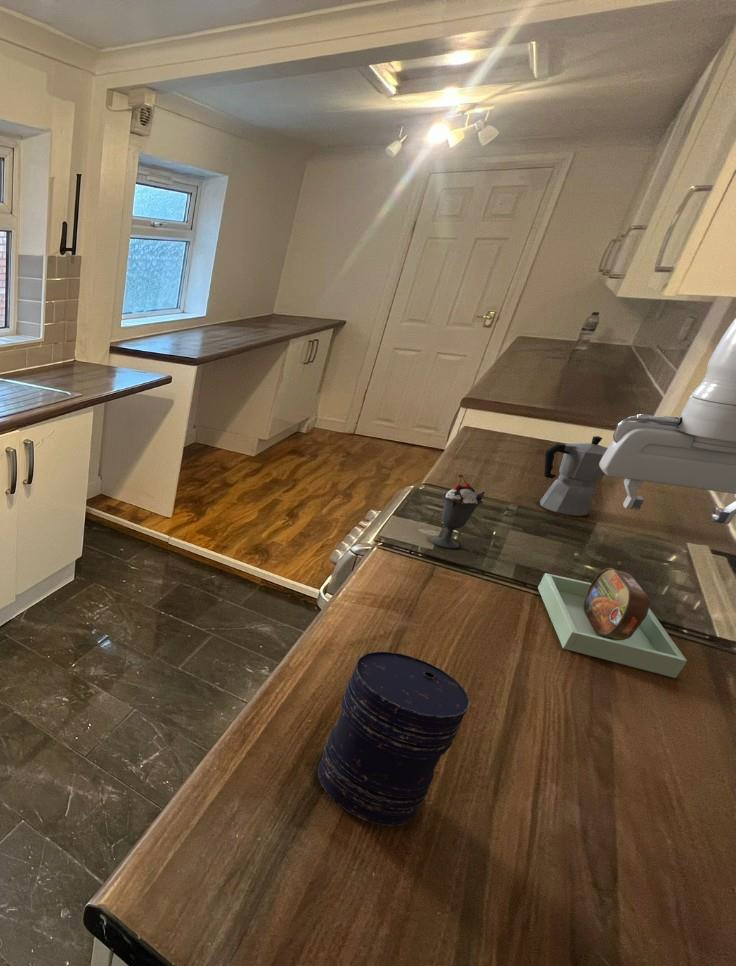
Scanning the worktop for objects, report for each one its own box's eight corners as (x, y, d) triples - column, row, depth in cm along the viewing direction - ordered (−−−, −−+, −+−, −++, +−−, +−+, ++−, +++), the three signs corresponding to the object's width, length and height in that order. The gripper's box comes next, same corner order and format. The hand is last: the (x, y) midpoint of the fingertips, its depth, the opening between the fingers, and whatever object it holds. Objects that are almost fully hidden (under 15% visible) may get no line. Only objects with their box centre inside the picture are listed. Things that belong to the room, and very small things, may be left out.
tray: (630, 608, 99) (639, 593, 98) (675, 678, 83) (687, 661, 81) (537, 587, 105) (545, 572, 104) (562, 648, 88) (572, 632, 87)
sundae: (418, 539, 122) (444, 472, 115) (439, 534, 124) (465, 468, 118) (449, 552, 117) (478, 483, 110) (470, 547, 119) (500, 479, 112)
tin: (579, 601, 100) (602, 558, 96) (602, 606, 98) (627, 563, 95) (601, 645, 88) (629, 598, 85) (629, 652, 87) (658, 605, 83)
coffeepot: (580, 504, 143) (616, 433, 135) (607, 519, 135) (647, 444, 127) (511, 498, 145) (542, 428, 137) (533, 512, 137) (568, 439, 129)
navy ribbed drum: (374, 840, 58) (426, 729, 51) (297, 767, 66) (332, 663, 59) (438, 808, 62) (494, 700, 55) (357, 743, 70) (397, 642, 63)
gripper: (630, 416, 81) (586, 506, 88) (851, 439, 72) (784, 538, 78) (617, 407, 86) (576, 493, 92) (822, 428, 77) (761, 522, 83)
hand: (673, 514), depth 85 cm, fingers open, 8 cm apart
